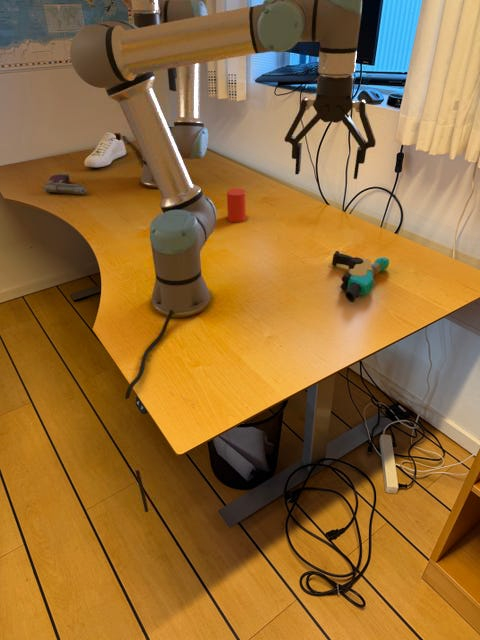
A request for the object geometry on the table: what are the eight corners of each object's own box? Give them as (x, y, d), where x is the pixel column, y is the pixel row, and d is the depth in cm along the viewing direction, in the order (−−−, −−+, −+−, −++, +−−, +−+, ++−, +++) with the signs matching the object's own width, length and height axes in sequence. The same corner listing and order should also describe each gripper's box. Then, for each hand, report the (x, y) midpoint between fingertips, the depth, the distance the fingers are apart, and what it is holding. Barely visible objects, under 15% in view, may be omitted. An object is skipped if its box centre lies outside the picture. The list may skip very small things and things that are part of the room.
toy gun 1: (99, 183, 198) (82, 197, 186) (58, 181, 201) (39, 194, 189) (97, 174, 195) (80, 188, 184) (55, 172, 199) (36, 184, 187)
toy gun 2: (311, 281, 124) (367, 296, 118) (342, 242, 143) (392, 253, 137) (309, 296, 127) (365, 311, 121) (340, 255, 145) (389, 267, 139)
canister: (243, 214, 172) (242, 187, 166) (247, 221, 167) (247, 194, 161) (225, 216, 170) (225, 189, 164) (230, 223, 165) (229, 196, 159)
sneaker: (78, 170, 212) (72, 142, 204) (110, 151, 234) (106, 126, 226) (99, 172, 209) (94, 144, 202) (129, 153, 231) (126, 127, 224)
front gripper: (397, 73, 100) (381, 173, 112) (280, 70, 105) (277, 165, 118) (397, 79, 94) (380, 184, 106) (273, 75, 99) (271, 175, 112)
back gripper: (114, 15, 125) (127, 102, 137) (189, 10, 138) (194, 89, 151) (100, 14, 129) (113, 98, 142) (173, 9, 143) (179, 86, 156)
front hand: (326, 174), depth 112 cm, fingers open, 13 cm apart
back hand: (155, 94), depth 147 cm, fingers open, 13 cm apart
